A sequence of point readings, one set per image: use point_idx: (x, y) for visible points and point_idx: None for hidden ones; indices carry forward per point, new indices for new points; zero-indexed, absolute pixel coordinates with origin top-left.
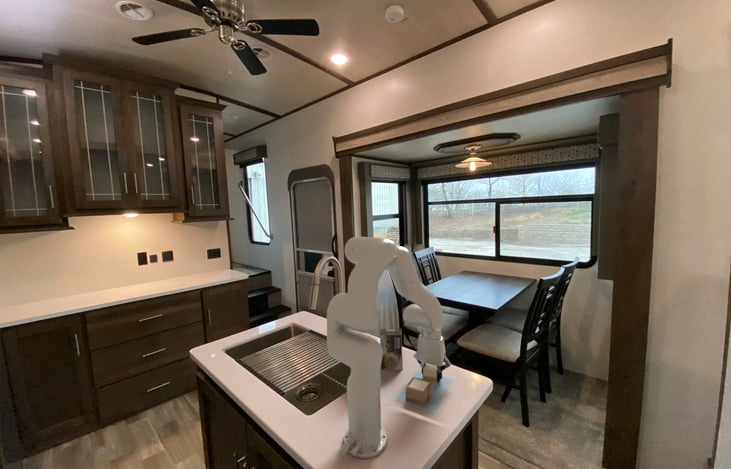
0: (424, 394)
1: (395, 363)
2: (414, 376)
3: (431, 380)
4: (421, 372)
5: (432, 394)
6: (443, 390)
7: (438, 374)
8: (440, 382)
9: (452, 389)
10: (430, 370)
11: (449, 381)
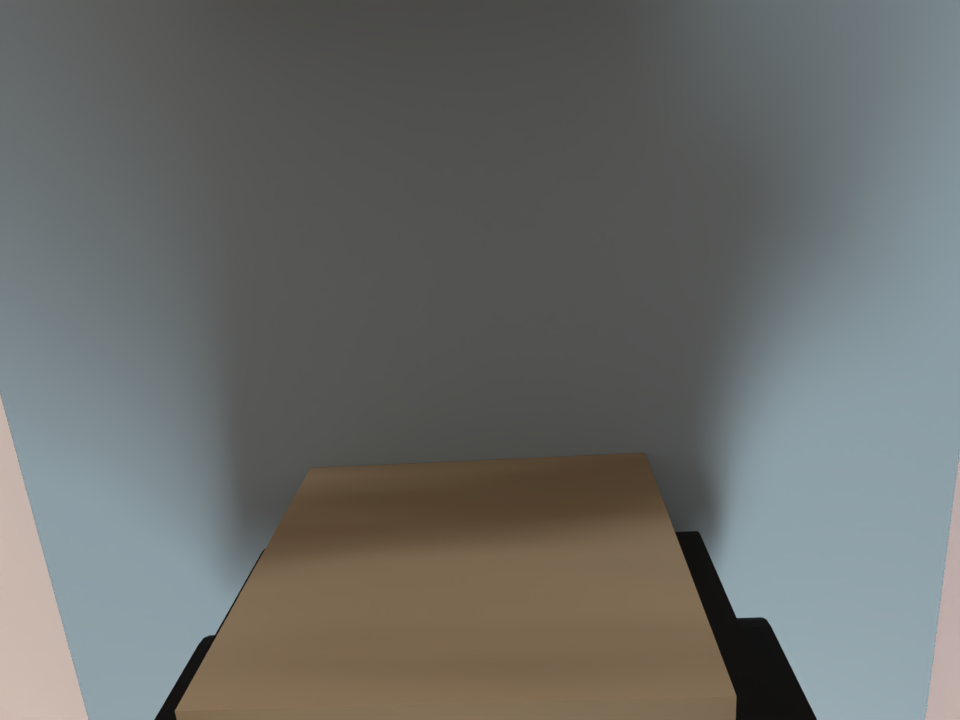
0: None
1: None
2: (924, 497)
3: (417, 498)
4: None
5: (182, 29)
6: (54, 349)
7: None
8: None
9: (19, 545)
10: (401, 700)
11: (128, 712)
